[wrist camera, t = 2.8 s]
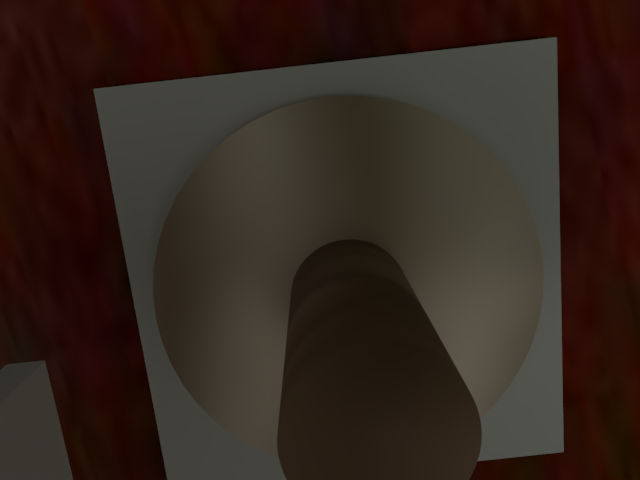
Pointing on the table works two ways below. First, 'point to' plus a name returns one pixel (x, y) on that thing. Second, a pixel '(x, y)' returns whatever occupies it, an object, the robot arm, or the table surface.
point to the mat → (313, 83)
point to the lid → (350, 289)
